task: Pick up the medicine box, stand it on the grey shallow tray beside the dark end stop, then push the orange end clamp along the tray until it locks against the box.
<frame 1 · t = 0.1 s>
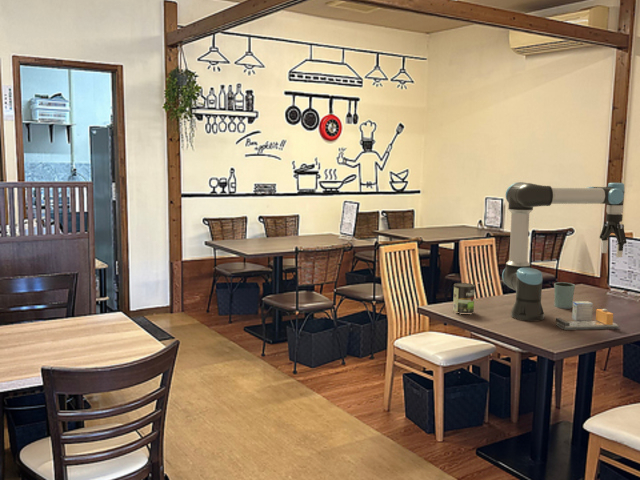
hand: (611, 255, 314), 28 cm above the table, fingers open, 13 cm apart
medicine box: (581, 320, 295), on the table
rail end clamp: (604, 315, 283), point 5 cm above the table, slide at 0.0 cm
green cup: (563, 307, 321), on the table
grey shallow tray: (587, 326, 283), on the table
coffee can: (463, 312, 309), on the table
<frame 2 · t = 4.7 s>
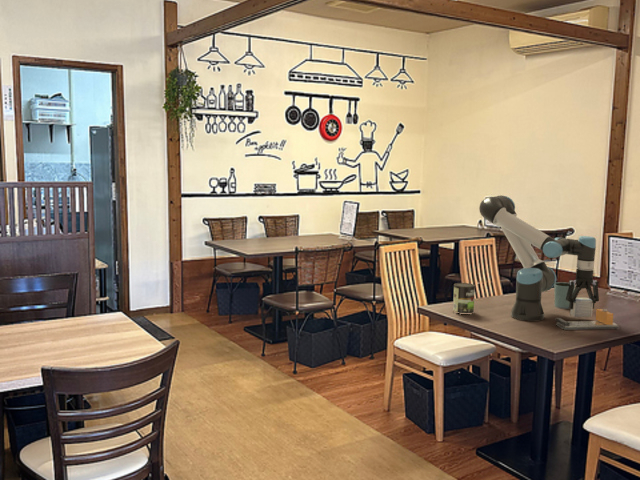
hand: (580, 315, 295), 2 cm above the table, fingers closed on medicine box, 8 cm apart
medicine box: (580, 316, 295), point 1 cm above the table, touching gripper
everything else where it was.
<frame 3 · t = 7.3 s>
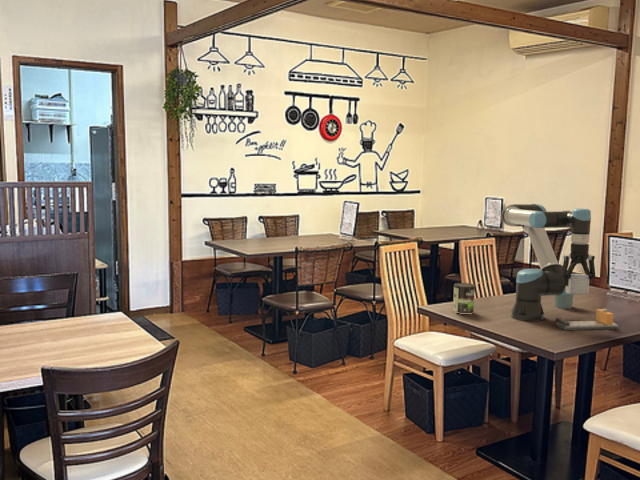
hand: (576, 292, 280), 16 cm above the table, fingers closed on medicine box, 8 cm apart
medicine box: (576, 293, 280), point 16 cm above the table, touching gripper
everything else where it was.
when the fingers open (3 cm above the table, at t = 9.9 s): medicine box drops 1 cm, resting on grey shallow tray.
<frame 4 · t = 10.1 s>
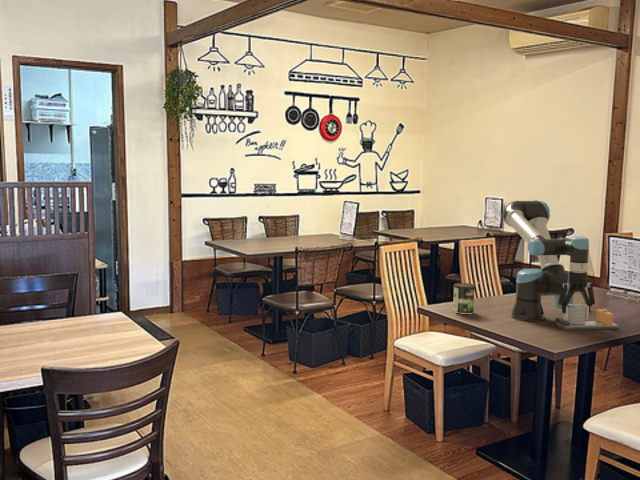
hand: (575, 319, 282), 4 cm above the table, fingers open, 9 cm apart
medicine box: (574, 323, 282), point 2 cm above the table, touching grey shallow tray
everything else where it was.
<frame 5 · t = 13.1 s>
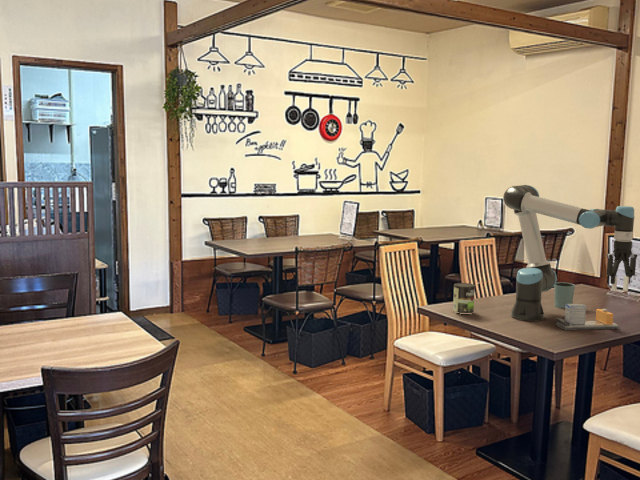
hand: (619, 290, 282), 17 cm above the table, fingers open, 5 cm apart
nothing on the table moved.
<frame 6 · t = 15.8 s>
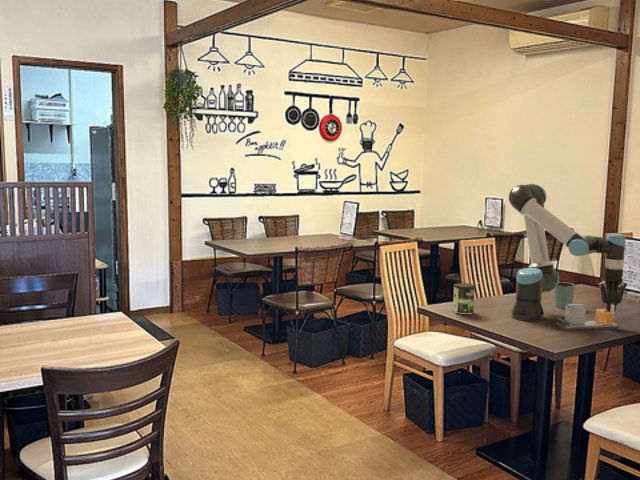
hand: (610, 318, 284), 4 cm above the table, fingers closed
rail end clamp: (604, 315, 283), point 5 cm above the table, slide at 0.1 cm, touching gripper
everything else where it was.
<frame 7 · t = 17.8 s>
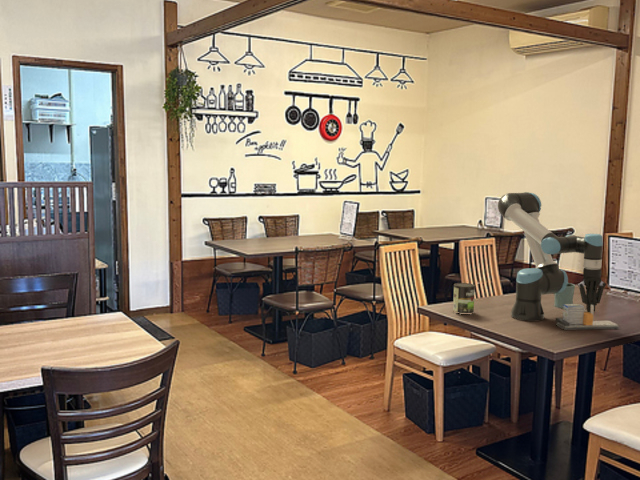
hand: (590, 318, 283), 4 cm above the table, fingers closed
medicine box: (572, 323, 282), point 2 cm above the table, touching grey shallow tray, rail end clamp
rail end clamp: (584, 316, 282), point 5 cm above the table, slide at 9.6 cm, touching gripper, medicine box
everything else where it was.
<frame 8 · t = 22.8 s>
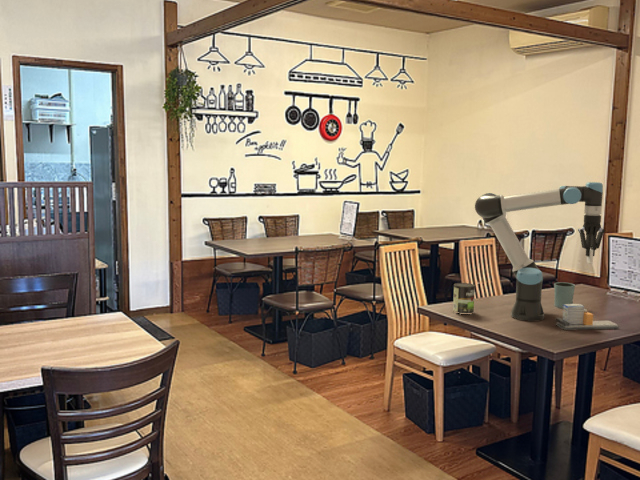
hand: (589, 262, 299), 26 cm above the table, fingers closed
medicine box: (572, 323, 282), point 2 cm above the table, touching grey shallow tray
rail end clamp: (584, 316, 282), point 5 cm above the table, slide at 9.6 cm
everything else where it was.
at the end: rail end clamp slide at 9.6 cm; medicine box 1.1 cm from the target spot on the grey shallow tray, point 1.6 cm above the grey shallow tray's base; medicine box tilted 0° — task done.
